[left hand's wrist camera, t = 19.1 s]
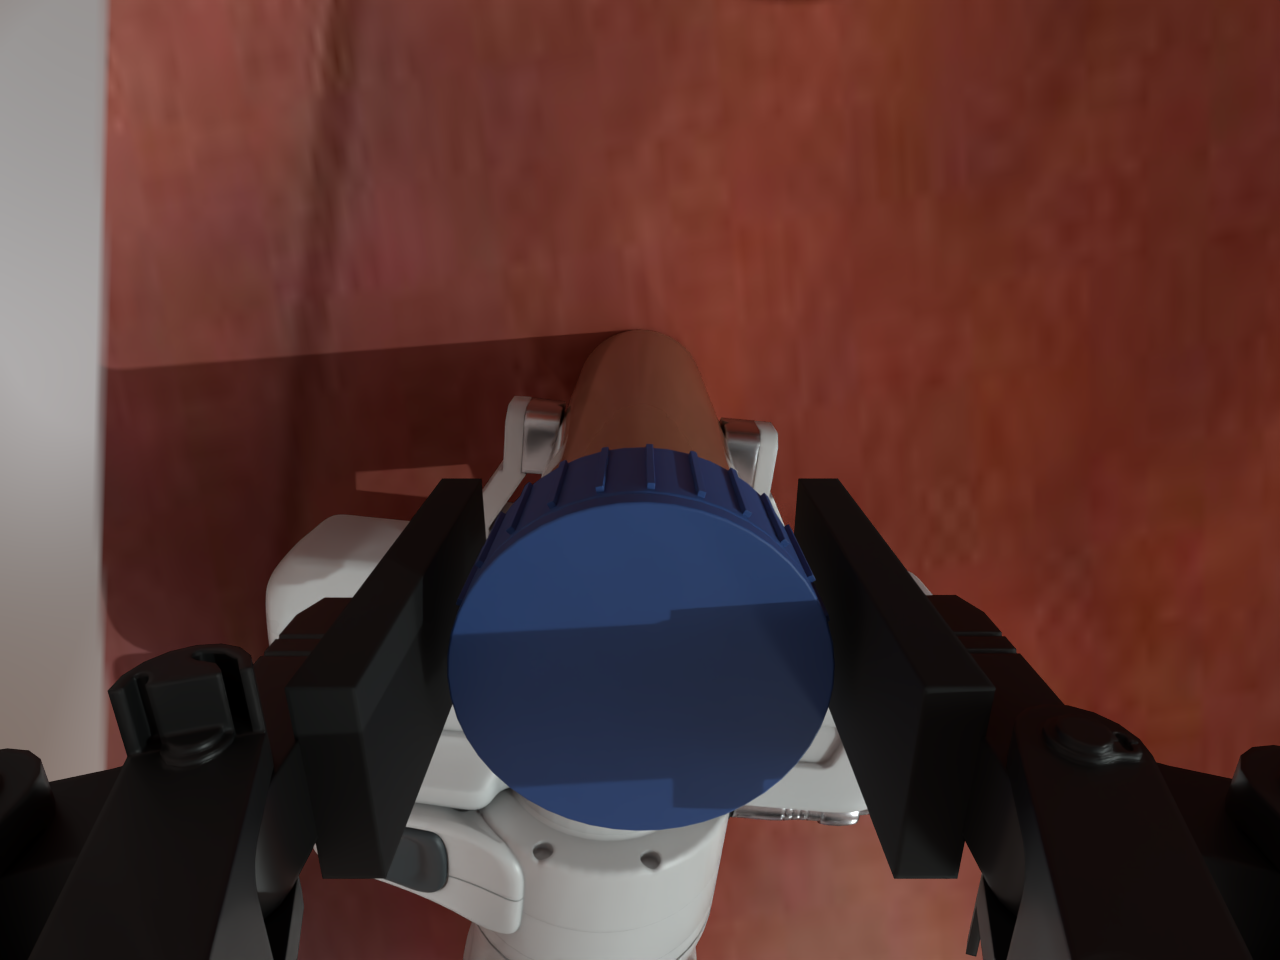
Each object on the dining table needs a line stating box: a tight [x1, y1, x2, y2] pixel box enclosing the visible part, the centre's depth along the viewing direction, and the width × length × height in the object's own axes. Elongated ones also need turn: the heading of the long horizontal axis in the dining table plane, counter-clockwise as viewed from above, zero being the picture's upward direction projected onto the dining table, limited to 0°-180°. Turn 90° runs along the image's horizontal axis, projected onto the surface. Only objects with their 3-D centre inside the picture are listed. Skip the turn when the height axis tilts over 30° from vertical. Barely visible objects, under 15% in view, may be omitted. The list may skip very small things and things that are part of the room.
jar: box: [540, 330, 740, 479], centre depth 19 cm, size 5×5×17 cm
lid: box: [447, 444, 835, 831], centre depth 11 cm, size 6×6×2 cm
